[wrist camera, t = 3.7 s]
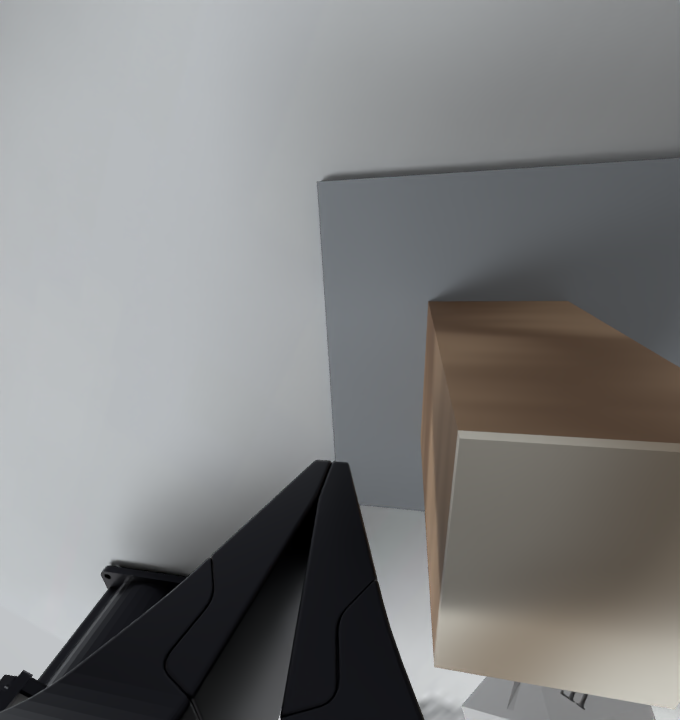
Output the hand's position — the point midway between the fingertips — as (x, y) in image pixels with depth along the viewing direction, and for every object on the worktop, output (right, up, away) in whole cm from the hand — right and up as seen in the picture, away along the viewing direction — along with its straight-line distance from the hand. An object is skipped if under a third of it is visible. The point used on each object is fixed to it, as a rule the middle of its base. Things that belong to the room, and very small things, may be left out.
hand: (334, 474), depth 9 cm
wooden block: (+6, +2, +4) cm, 7 cm away
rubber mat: (+8, +2, +4) cm, 9 cm away
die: (+11, -14, +11) cm, 21 cm away
